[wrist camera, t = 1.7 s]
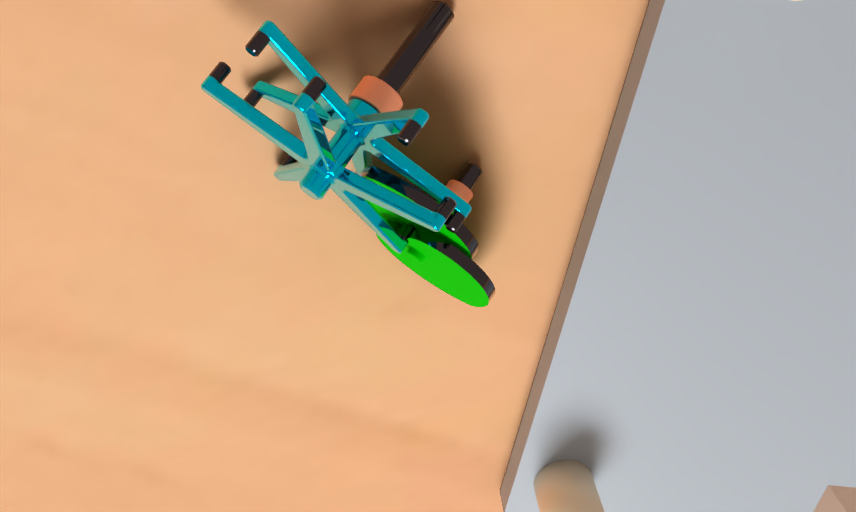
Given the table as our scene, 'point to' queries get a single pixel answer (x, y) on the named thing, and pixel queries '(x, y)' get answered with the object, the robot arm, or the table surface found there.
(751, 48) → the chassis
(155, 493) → the table surface
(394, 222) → the teal multi-armed frame
